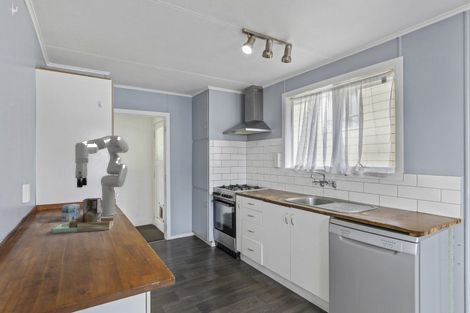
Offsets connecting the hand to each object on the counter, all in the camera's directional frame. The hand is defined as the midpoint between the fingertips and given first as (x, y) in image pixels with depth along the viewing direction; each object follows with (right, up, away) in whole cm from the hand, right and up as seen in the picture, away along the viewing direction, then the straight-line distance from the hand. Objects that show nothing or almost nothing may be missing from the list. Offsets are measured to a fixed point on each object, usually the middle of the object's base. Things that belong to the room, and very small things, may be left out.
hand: (82, 186), depth 168 cm
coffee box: (+11, -23, -8) cm, 27 cm away
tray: (-2, -26, -11) cm, 28 cm away
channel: (+14, -26, -7) cm, 30 cm away
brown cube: (+5, -23, -9) cm, 25 cm away
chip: (+3, -24, -9) cm, 25 cm away
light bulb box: (-18, -27, +16) cm, 36 cm away
